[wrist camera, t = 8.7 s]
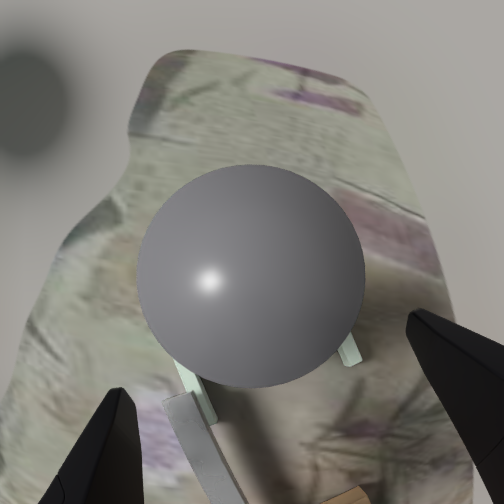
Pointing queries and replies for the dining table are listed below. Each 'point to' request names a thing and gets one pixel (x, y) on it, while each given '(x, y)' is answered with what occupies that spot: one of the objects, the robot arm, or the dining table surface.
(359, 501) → the latch rail
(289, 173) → the plug
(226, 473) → the lever
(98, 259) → the dining table surface
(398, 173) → the dining table surface
